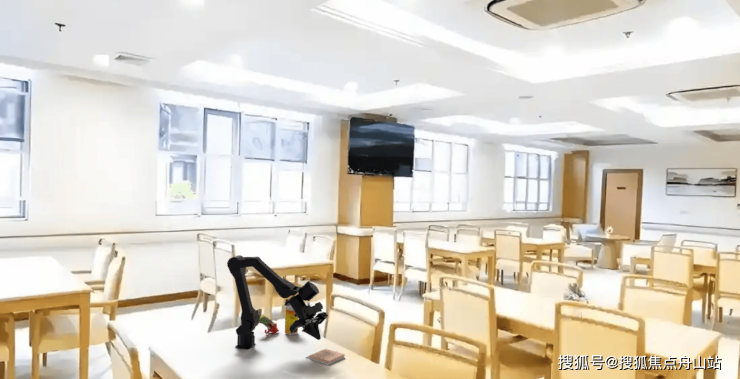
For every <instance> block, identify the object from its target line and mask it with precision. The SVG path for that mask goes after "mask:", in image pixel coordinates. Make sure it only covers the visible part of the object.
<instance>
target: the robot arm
mask: <svg viewBox="0 0 740 379" xmlns="http://www.w3.org/2000/svg"><path fill="white" fill-rule="evenodd" d="M226 264H227V265H226V267H227V268H228V270H229V273H230V274H231V276H232V277H233V278H234V282H235V287H236V291H237V295H238V300H239V303H240V308H241V314H240V325H239V326H238V327H237V328H236V329H235V332H236V335H237V341H236V344H237V345H235V346H234V347H235V348H237V349H245V350H249V349H251V348H253V347H255V346H256V345H257V344H256V343H255V341H256V338H255V337H256V335H255V332H254V330H255V329H256V327H258V325H259V324H260V320H259V319H260V316H261V315H260V312H259V309H255V308H254V307H253V303H252V299H251V294H250V290H249V286H248V282H247V277H246V272H247V268H249V267H250V268H251V267H252V268H254V269H255V271H257V272H258V273H259V274H260V275H261V276H262V277H264V278H265V279H266V280H267V282H269V283H270V284H271V285H272V287H273V288H274V290H275V292H276V293H277V295H278V296H279V297H280V298H282V299H285V302H284V306H290V305H291V307H292V309H293V310H294V312H295V315H294V316H295V317H298V320H295V321H294V322H293V323H292V325H291V326H290V328H289V330H290V332H291V333H295V332H297V328H298V329H299V328H302V329H301V333H305V334H308V335H309V336H310V337H312V338H314V339H315V340H318V341H319V340H321V338H322V337H321V333H320V328H319V325H321V324H322V323H323V322H324V321H326V319H328V317H329V315H328V313H327V312H326V311H323V309H324V305H323V304H322V303H321V301H318V302H316V303H314V305H312V306H311V305H310V304H308V305H307V303H306V302H310V301H311V300H312V299H314V298H315V297H317V295H318V294H319V293H320V290H319V288H318V286H316V284H314V283H313V282H311V281H309V280H308V281H306V282H305V283H304V284H303V285H302V286H297V285H295V284H293V283H292V282H291V281H289V280H288V279H286V278H283V277H281V276H280V275H279V274H278V273H277V272H275V271H274V270H273V269H272V268H271V267H270V266H269V265H268V264H267V263H265V262H264V260H262V259H261V257H260V256H242V255H241V254H240V255H239V254H237V255H235V256H233V257H229V259H228V260H227V262H226ZM288 298H289V299H288ZM317 313H318V314H317ZM297 333H298V332H297Z"/></svg>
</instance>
